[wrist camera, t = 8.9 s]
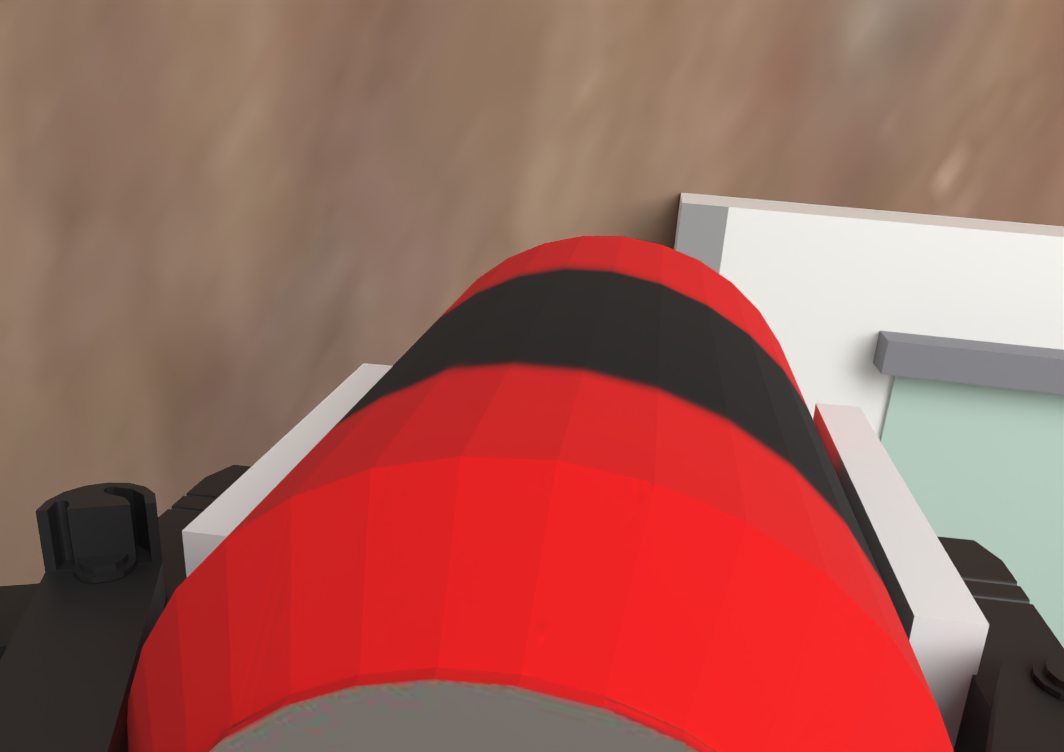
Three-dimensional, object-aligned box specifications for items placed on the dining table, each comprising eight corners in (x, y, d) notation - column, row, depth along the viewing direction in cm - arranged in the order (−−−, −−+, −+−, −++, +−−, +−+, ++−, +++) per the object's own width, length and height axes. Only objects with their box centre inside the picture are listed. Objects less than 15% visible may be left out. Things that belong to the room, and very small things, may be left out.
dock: (620, 671, 40) (615, 737, 36) (680, 192, 33) (682, 208, 29) (1176, 757, 37) (1237, 839, 33) (1375, 254, 30) (1484, 280, 26)
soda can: (759, 603, 19) (902, 1408, 7) (415, 551, 19) (67, 1199, 8) (827, 254, 16) (1205, 655, 5) (430, 212, 17) (-45, 469, 6)
